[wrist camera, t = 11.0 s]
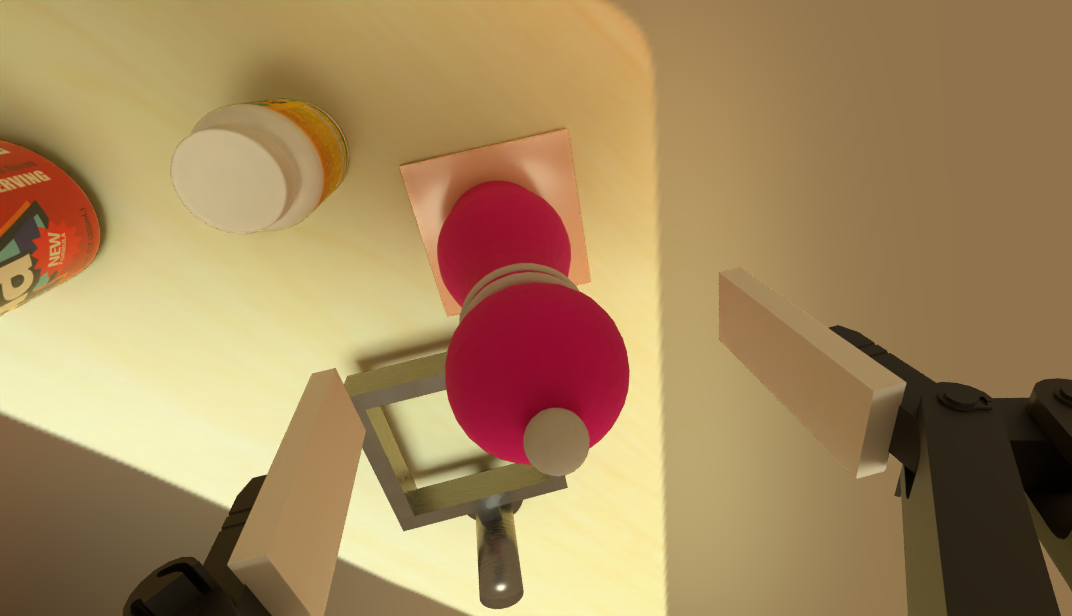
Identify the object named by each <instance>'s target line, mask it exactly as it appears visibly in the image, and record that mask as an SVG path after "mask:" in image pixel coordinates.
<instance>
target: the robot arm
mask: <svg viewBox="0 0 1072 616" xmlns="http://www.w3.org/2000/svg"><path fill="white" fill-rule="evenodd" d="M719 340H720V341H721V342H722V343H723V344H724V345H725V346H726V347H727V348H728V349H729V350H730V351H731V352H732V353H733V354H734V355H735V356H736V357H737V358H738V359H739V360H740V361H741V362H742V363H743V364H744V365H745V366H746V367H747V369H749V371H750V372H751V373H752V374H753V375H754V376H755V377H756V378H757V379H758V380H759V381H760V382H761V383H762V384H763V385H764V386H765V387H766V388H767V389H768V390H769V391H770V392H771V393H772V394H773V395H774V396H775V397H776V398H777V399H778V400H779V401H780V402H781V403H782V404H783V405H784V406H785V407H786V408H787V409H788V410H789V411H790V412H791V413H792V414H793V415H794V416H795V417H796V418H797V419H798V420H799V421H800V422H801V423H802V424H803V425H804V426H805V427H806V429H807V430H808V431H809V432H811V433H812V435H814V437H815V438H816V439H817V440H818V441H819V442H820V443H821V444H822V445H823V446H824V447H825V448H826V449H827V450H828V451H829V452H830V453H831V454H832V455H833V456H834V457H835V458H836V459H837V460H838V461H839V462H840V463H841V464H842V465H843V466H844V467H845V468H846V469H847V470H848V471H849V472H850V473H851V474H852V475H853V476H854V477H855V478H856V479H857V478H861V477H864V476H868V475H871V474H875V473H878V472H882V471H885V469H886V465H887V461H888V457H889V453H891V454H892V455H893V456H895V457H896V458H897V459H898V460H899V461H900V462H901V463H902V464H903V465H902V469H901V473H900V477H899V480H898V484H897V488H896V492H895V496H897V497H900V496H901V497H902V515H903V532H904V551H905V569H906V585H907V603H908V604H907V605H908V616H1061V614H1060V611H1059V608H1058V604H1057V601H1056V597H1055V594H1054V591H1053V587H1052V584H1051V580H1050V578H1049V574H1048V570H1047V567H1046V563H1045V560H1044V557H1043V553H1042V550H1041V547H1040V543H1039V540H1040V541H1041V543H1042V545H1043V546H1044V548H1045V549H1046V551H1047V553H1048V554H1049V556H1050V557H1051V559H1052V561H1053V562H1054V564H1055V565H1056V567H1057V568H1058V570H1059V572H1060V573H1061V575H1062V576H1063V578H1064V579H1065V581H1066V582H1067V584H1068V586H1069V587H1070V589H1071V590H1072V380H1068V379H1059V378H1058V379H1045V380H1042V381H1040V382H1038V383H1036V384H1035V386H1034V388H1033V391H1032V393H1031V395H1030V398H991V397H990V396H988V395H987V394H986V393H984V392H982V391H980V390H978V389H976V388H973V387H971V386H967V385H963V384H959V383H950V382H939V383H935V382H934V381H932V380H931V379H929V378H928V377H926V376H925V375H923V374H922V373H920V372H919V371H917V370H915V369H914V368H913V367H911V366H909V365H908V364H906V363H905V362H903V361H902V360H900V359H899V358H897V357H896V356H894V355H892V354H891V353H889V354H888V352H887V351H886V350H885V349H883V348H882V347H880V346H879V345H875V344H874V342H872V341H871V340H870V339H868V338H867V337H865V336H863V335H862V334H860V333H859V332H856V331H853V330H851V329H848V328H845V327H842V326H839V325H837V326H833V327H829V328H827V327H826V326H824V325H823V324H822V323H820V322H819V321H817V320H816V319H814V318H813V317H811V316H810V315H808V314H807V313H806V312H804V311H803V310H801V309H800V308H799V307H797V306H796V305H794V304H793V303H791V302H790V301H788V300H787V299H786V298H784V297H783V296H781V295H780V294H778V293H777V292H775V291H774V290H773V289H771V288H770V287H768V286H767V285H765V284H764V283H762V282H761V281H759V280H758V279H757V278H755V277H754V276H752V275H751V274H749V273H748V272H747V271H745V270H744V269H742V268H740V267H739V268H735V269H731V270H727V271H723V272H719ZM365 432H366V430H365V428H364V425H363V423H362V421H361V419H360V417H359V415H358V413H357V411H356V409H355V407H354V405H353V403H352V401H351V399H350V397H349V395H348V393H347V391H346V389H345V387H344V384H343V382H342V380H341V378H340V376H339V374H338V372H337V370H336V368H333V369H329V370H325V371H321V372H317V373H313V374H312V375H311V377H310V379H309V382H308V384H307V386H306V388H305V391H304V393H303V395H302V397H301V400H300V402H299V404H298V406H297V409H296V411H295V413H294V415H293V418H292V420H291V422H290V424H289V427H288V429H287V431H286V433H285V436H284V438H283V440H282V442H281V445H280V447H279V449H278V451H277V454H276V456H275V458H274V460H273V463H272V465H271V467H270V469H269V472H268V474H267V475H263V476H259V477H255V478H252V479H251V481H250V482H249V483H248V484H247V485H246V486H245V487H244V489H243V490H242V491H241V492H240V493H239V494H238V495H237V497H236V499H235V501H234V503H233V505H232V507H231V510H230V512H229V517H227V518H226V520H225V522H224V524H223V526H222V531H221V532H219V534H218V536H217V538H216V540H215V542H214V544H213V546H212V548H211V550H210V552H209V554H208V556H207V558H206V560H205V563H204V564H203V566H202V564H201V563H200V562H199V561H197V560H196V559H195V558H193V557H181V558H178V559H175V560H173V561H170V562H168V563H166V564H164V565H163V566H161V567H160V568H158V569H156V570H154V571H153V572H152V573H151V574H150V575H149V576H148V577H146V578H145V579H144V580H143V581H142V582H140V584H139V585H138V586H137V587H136V589H135V590H134V591H133V592H132V593H131V595H130V596H129V598H128V600H127V602H126V604H125V606H124V608H123V616H324V612H325V608H326V603H327V599H328V595H329V590H330V586H331V581H332V577H333V573H334V568H335V564H336V559H337V555H338V551H339V546H340V542H341V538H342V533H343V529H344V524H345V520H346V516H347V511H348V507H349V502H350V498H351V494H352V489H353V485H354V480H355V476H356V472H357V467H358V463H359V459H360V454H361V450H362V445H363V441H364V437H365ZM1038 538H1039V540H1038Z"/></svg>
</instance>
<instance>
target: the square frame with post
mask: <svg viewBox="0 0 1072 616" xmlns="http://www.w3.org/2000/svg"><path fill="white" fill-rule="evenodd" d="M446 357H447V352H444V353H439V354H435V355H431V356H427V357H423V358H419V359H415V360H411V361H407V362H403V363H399V364H395V365H391V366H387V367H383V368H379V369H375V370H371V371H367V372H363V373H359V374H355V375H350V376H347V378H346V381H345V384H344V387H345V389H346V391H347V393H348V395H349V397H350V399H351V401H352V403H353V405H354V407H355V409H356V411H357V413H358V415H359V417H360V419H361V421H362V423H363V425H364V428H365V430H366V432H365V437H364V441H363V445H362V448H363V450H364V452H365V454H366V456H367V458H368V460H369V462H370V464H371V466H372V468H373V470H374V472H375V474H376V476H377V478H378V480H379V482H380V484H381V486H382V488H383V490H384V492H385V495H386V497H387V499H388V501H389V503H390V505H391V507H392V509H393V511H394V513H395V515H396V517H397V519H398V521H399V523H400V525H401V527H402V529H403V531H407V530H410V529H414V528H418V527H422V526H425V525H429V524H433V523H437V522H440V521H444V520H448V519H452V518H456V517H459V516H463V515H468V516H470V517H471V518H473V519H474V520H476V531H477V552H478V573H479V593H480V601H481V603H482V604H483V605H484V606H486V607H488V608H492V609H503V608H507V607H510V606H512V605H514V604H516V603H517V602H518V601H519V600H520V599H521V598H522V596H523V585H522V577H521V570H520V562H519V555H518V547H517V540H516V532H515V525H514V517H513V514H515V513H516V512H517V511H518V509H519V508H520V506H521V504H522V501H523V499H527V498H531V497H535V496H538V495H542V494H546V493H550V492H553V491H557V490H561V489H565V488H568V487H567V483H566V478H565V475H563V476H552V475H548V474H544V473H542V472H540V471H539V470H538V469H537V468H535V467H534V466H533V465H527V464H518V463H515V464H511V465H507V466H504V467H500V468H496V469H492V470H488V471H484V472H481V473H477V474H473V475H469V476H465V477H461V478H458V479H454V480H450V481H446V482H442V483H439V484H435V485H431V486H427V487H423V488H419V489H417V488H416V485H415V483H414V481H413V479H412V476H411V474H410V472H409V470H408V467H407V465H406V463H405V461H404V458H403V456H402V454H401V452H400V449H399V447H398V445H397V443H396V440H395V438H394V436H393V434H392V431H391V429H390V427H389V425H388V422H387V420H386V418H385V416H384V413H383V411H382V409H381V406H383V405H387V404H391V403H395V402H399V401H403V400H407V399H411V398H415V397H419V396H423V395H427V394H431V393H435V392H438V391H442V390H446V383H445V362H446Z"/></svg>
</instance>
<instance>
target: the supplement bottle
mask: <svg viewBox="0 0 1072 616" xmlns="http://www.w3.org/2000/svg"><path fill="white" fill-rule="evenodd" d="M348 162H349V152H348V146H347V142H346V139H345V137H344V135H343V133H342V131H341V129H340V128H339V126H338V125H337V123H336V122H335V121H334V120H333V119H332V117H331V116H329V115H328V114H327V113H326V112H325V111H323V110H322V109H320V108H318V107H317V106H315V105H312V104H310V103H308V102H304V101H301V100H297V99H288V98H286V99H273V100H266V101H259V102H250V103H242V104H234V105H229V106H225V107H222V108H219V109H216V110H214V111H212V112H210V113H209V114H207V115H206V116H205V117H203V118H202V119H201V120H200V121H199V122H198V123H197V124H196V126H195V127H194V129H193V130H192V132H191V134H190V135H189V136H188V137H186V138H185V139H184V140H183V141H182V142H181V143H180V144H179V145H178V146H177V148H176V150H175V152H174V154H173V157H172V162H171V178H172V182H173V186H174V188H175V191H176V193H177V195H178V196H179V198H180V199H181V201H182V203H183V204H184V205H185V206H186V208H187V209H188V210H189V211H190V212H191V213H192V214H193V215H194V216H196V217H197V218H198V219H200V220H201V221H203V222H204V223H205V224H207V225H209V226H211V227H214V228H216V229H218V230H221V231H225V232H229V233H236V234H248V233H254V232H258V231H276V230H282V229H286V228H289V227H292V226H294V225H296V224H298V223H300V222H301V221H303V220H304V219H305V218H306V217H308V216H309V215H310V214H311V213H312V212H313V211H314V210H315V209H316V208H317V207H318V206H319V205H320V204H321V203H322V202H323V201H324V200H325V199H326V198H327V197H328V196H329V195H330V194H331V193H332V192H333V191H334V190H335V189H336V188H337V187H338V186H339V185H340V184H341V182H342V181H343V179H344V177H345V175H346V172H347V168H348Z"/></svg>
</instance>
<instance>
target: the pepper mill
mask: <svg viewBox="0 0 1072 616" xmlns="http://www.w3.org/2000/svg"><path fill="white" fill-rule="evenodd" d="M437 258H438V264H439V269H440V274H441V277H442V280H443V282H444V284H445V286H446V288H447V290H448V291H449V293H450V294H451V296H452V297H453V298H454V299H455V301H456V302H457V303H458V304H459V305H460V306H461V307H462V309H461V313H460V324H459V326H458V328H457V329H456V331H455V332H454V334H453V337H452V340H451V342H450V345H449V348H448V352H447V357H446V362H445V383H446V389H447V395H448V400H449V403H450V405H451V408H452V410H453V413H454V415H455V418H456V420H457V422H458V423H459V425H460V426H461V427H462V429H463V430H464V431H465V433H466V434H467V436H468V437H469V438H470V439H471V440H472V441H474V442H475V443H476V444H477V445H478V446H480V447H481V448H482V449H483V450H484V451H486V452H487V453H490V454H492V455H494V456H496V457H498V458H500V459H502V460H506V461H510V462H514V463H518V464H527V465H533V466H534V467H535V468H537V469H538V470H539V471H540V472H542V473H544V474H548V475H552V476H563V475H567V474H570V473H572V472H574V471H575V470H576V469H577V468H579V467H580V466H581V465H582V463H583V462H584V460H585V459H586V457H587V454H588V450H589V448H591V447H592V446H594V445H595V444H596V443H597V442H599V441H600V440H601V439H602V438H603V437H604V436H605V435H606V434H607V433H608V431H609V430H610V429H611V428H612V426H613V425H614V423H615V422H616V420H617V418H618V416H619V414H620V412H621V410H622V408H623V406H624V404H625V400H626V396H627V392H628V386H629V364H628V357H627V351H626V347H625V344H624V341H623V338H622V336H621V334H620V332H619V331H618V329H617V327H616V325H615V323H614V321H613V320H612V319H611V317H610V316H609V315H608V314H607V312H606V311H605V310H604V309H602V308H601V307H600V306H599V305H598V304H597V303H596V302H595V301H594V300H593V299H592V298H590V297H588V296H587V295H585V294H583V293H582V292H579V290H578V289H577V287H576V286H575V285H574V283H573V282H572V281H571V280H570V279H569V278H568V275H569V269H570V262H571V245H570V240H569V236H568V233H567V231H566V228H565V226H564V224H563V222H562V219H561V217H560V216H559V215H558V213H557V212H556V211H555V209H554V208H553V207H552V206H551V205H550V204H549V203H548V202H547V201H545V200H544V199H543V198H541V197H540V196H538V195H536V194H534V193H533V192H530V191H528V190H527V189H525V188H523V187H522V186H520V185H518V184H515V183H512V182H508V181H488V182H484V183H481V184H478V185H476V186H474V187H472V188H471V189H469V190H467V191H466V192H465V193H464V194H463V195H462V196H461V197H460V198H459V199H458V200H457V202H456V203H455V205H454V206H453V208H452V210H451V212H450V214H449V215H448V216H447V218H446V220H445V222H444V224H443V226H442V228H441V231H440V234H439V237H438V244H437Z"/></svg>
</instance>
